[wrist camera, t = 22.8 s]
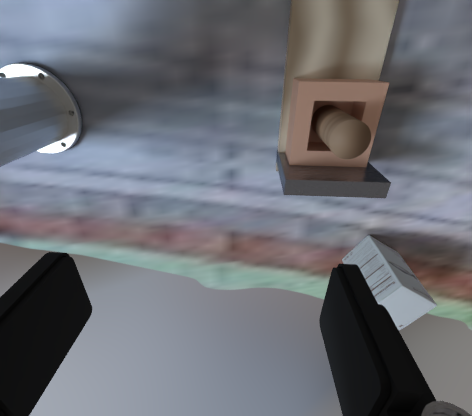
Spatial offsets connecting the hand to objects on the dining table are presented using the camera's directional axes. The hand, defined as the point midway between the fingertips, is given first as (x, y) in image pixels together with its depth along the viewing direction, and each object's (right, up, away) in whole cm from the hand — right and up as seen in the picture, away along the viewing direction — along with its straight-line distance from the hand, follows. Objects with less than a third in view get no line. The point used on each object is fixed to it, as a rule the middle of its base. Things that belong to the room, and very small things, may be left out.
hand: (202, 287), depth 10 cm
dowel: (+13, +15, +26) cm, 33 cm away
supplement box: (+26, -6, +40) cm, 49 cm away
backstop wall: (+14, +11, +31) cm, 36 cm away
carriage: (+14, +15, +27) cm, 34 cm away
